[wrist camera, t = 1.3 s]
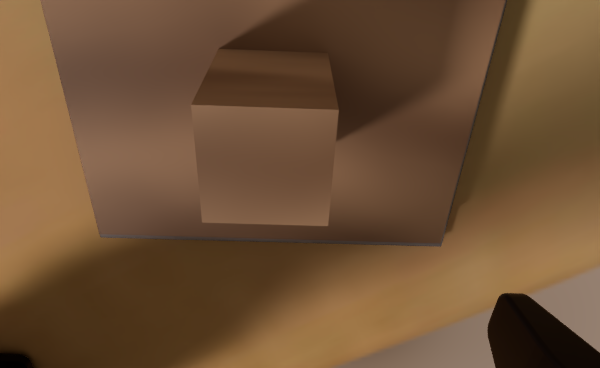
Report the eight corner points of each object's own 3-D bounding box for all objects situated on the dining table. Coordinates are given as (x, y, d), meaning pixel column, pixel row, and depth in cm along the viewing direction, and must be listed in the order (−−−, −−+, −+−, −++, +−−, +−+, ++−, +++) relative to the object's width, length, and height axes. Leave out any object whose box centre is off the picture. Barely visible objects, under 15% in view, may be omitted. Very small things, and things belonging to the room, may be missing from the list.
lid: (434, 228, 20) (476, 331, 15) (107, 219, 19) (49, 322, 15) (516, -96, 13) (631, -87, 9) (28, -119, 13) (-119, -123, 8)
